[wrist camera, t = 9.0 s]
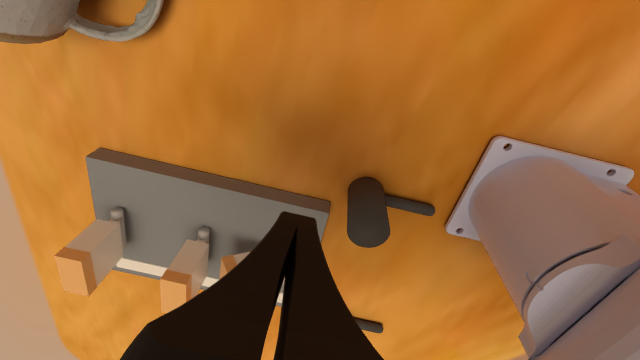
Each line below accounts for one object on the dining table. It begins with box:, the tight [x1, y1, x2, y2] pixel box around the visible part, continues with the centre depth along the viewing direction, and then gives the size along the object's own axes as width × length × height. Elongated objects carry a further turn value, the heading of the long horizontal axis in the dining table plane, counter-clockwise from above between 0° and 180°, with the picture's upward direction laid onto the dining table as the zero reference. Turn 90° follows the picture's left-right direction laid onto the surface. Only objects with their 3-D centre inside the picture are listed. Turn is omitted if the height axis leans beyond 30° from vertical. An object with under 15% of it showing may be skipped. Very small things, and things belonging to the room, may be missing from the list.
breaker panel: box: [86, 148, 330, 307], centre depth 26 cm, size 17×11×2 cm, turn 77°
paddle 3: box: [54, 208, 127, 296], centre depth 23 cm, size 2×4×5 cm, turn 167°
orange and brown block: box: [160, 227, 209, 313], centre depth 23 cm, size 2×4×5 cm, turn 167°
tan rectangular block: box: [220, 252, 285, 286], centre depth 24 cm, size 2×4×5 cm
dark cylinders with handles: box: [347, 177, 435, 333], centre depth 25 cm, size 7×17×4 cm, turn 167°
